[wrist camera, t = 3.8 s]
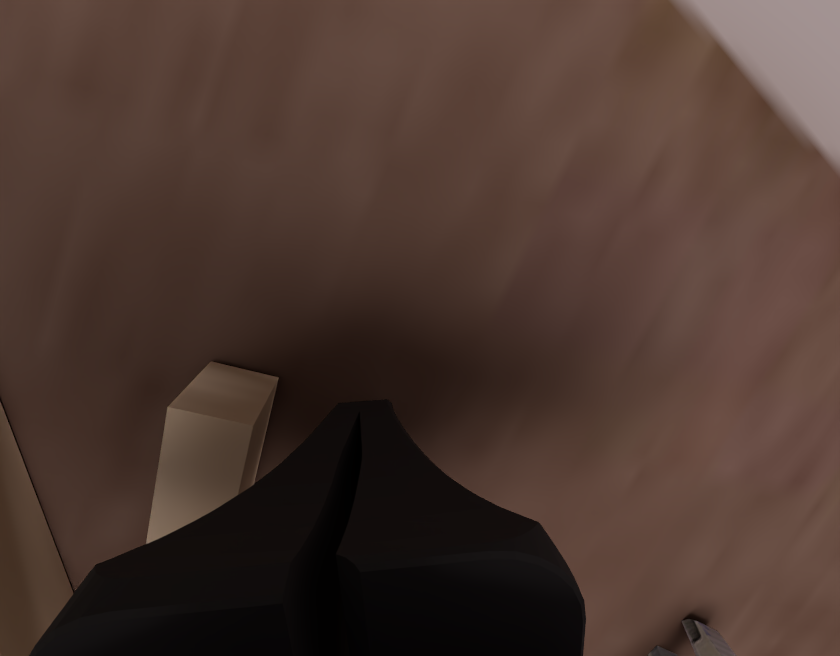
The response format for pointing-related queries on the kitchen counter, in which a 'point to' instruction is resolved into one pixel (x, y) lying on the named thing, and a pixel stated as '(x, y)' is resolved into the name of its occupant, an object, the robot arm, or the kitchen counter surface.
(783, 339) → the kitchen counter surface
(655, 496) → the kitchen counter surface
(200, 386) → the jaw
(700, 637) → the caliper
